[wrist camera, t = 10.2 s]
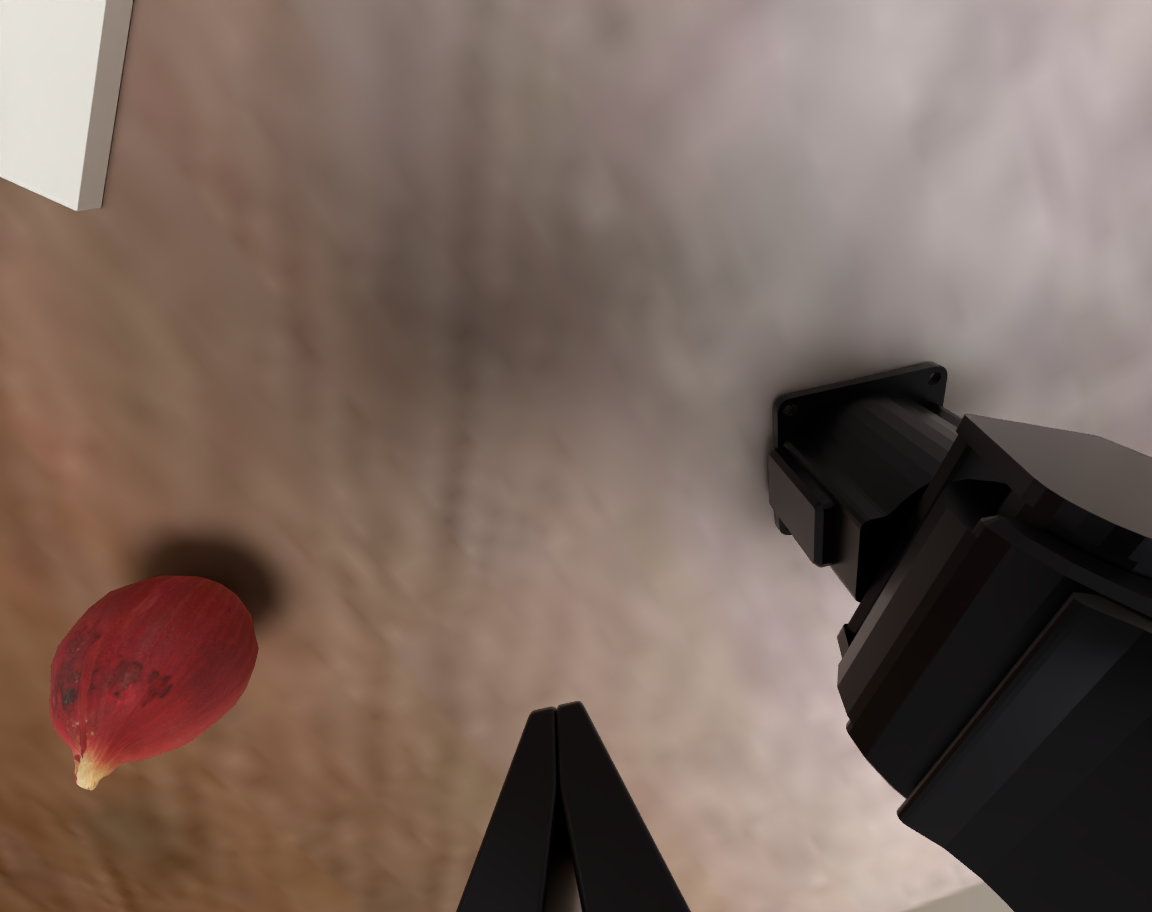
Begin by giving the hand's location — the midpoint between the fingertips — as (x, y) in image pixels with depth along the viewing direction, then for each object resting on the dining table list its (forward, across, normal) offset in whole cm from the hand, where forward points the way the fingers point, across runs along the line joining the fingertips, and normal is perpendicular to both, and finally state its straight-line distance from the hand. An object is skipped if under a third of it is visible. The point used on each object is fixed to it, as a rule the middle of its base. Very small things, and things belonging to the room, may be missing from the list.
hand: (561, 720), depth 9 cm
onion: (+13, +15, +5) cm, 21 cm away
